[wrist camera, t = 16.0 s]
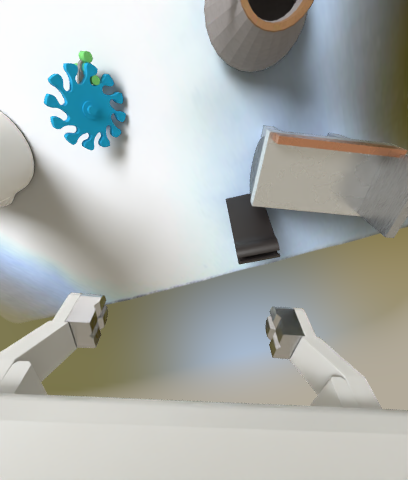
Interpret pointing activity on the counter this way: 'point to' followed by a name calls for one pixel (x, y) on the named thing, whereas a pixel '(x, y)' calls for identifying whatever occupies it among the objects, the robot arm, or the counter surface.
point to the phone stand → (251, 230)
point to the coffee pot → (254, 30)
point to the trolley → (331, 177)
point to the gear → (85, 103)
